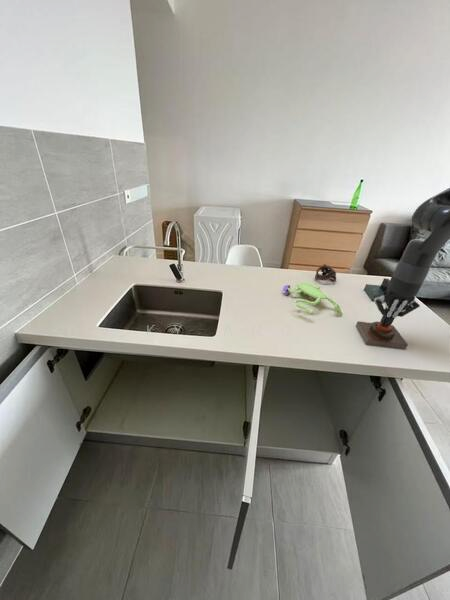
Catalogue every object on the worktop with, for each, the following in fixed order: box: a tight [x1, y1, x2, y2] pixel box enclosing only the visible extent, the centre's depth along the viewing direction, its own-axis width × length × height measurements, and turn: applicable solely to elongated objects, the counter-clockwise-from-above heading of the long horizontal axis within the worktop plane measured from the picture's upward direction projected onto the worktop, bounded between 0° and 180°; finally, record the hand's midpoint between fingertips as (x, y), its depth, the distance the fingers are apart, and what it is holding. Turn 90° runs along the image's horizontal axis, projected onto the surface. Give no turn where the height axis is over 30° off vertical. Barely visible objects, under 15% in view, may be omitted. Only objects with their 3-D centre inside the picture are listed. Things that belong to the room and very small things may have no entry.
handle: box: [380, 277, 391, 292], centre depth 103 cm, size 6×2×5 cm, turn 172°
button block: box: [355, 320, 408, 351], centre depth 80 cm, size 12×10×4 cm
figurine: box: [282, 281, 343, 316], centre depth 97 cm, size 18×27×6 cm
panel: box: [363, 283, 386, 304], centre depth 105 cm, size 12×10×3 cm
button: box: [376, 320, 392, 333], centre depth 79 cm, size 4×4×2 cm
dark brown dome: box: [314, 264, 337, 283], centre depth 117 cm, size 12×10×8 cm
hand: (384, 324), depth 79 cm, fingers closed
